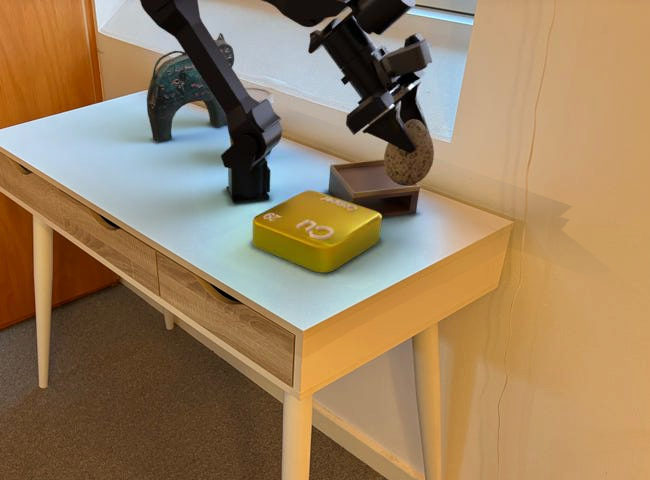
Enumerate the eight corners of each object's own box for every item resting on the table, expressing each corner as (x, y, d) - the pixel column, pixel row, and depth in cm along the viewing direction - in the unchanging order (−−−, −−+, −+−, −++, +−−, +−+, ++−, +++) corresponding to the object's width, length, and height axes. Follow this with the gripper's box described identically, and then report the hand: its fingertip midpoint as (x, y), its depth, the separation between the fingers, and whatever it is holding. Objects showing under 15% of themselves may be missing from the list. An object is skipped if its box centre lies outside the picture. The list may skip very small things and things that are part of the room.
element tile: (384, 239, 111) (388, 210, 108) (325, 277, 103) (327, 247, 100) (307, 212, 120) (308, 184, 117) (246, 244, 112) (246, 216, 109)
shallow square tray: (351, 221, 116) (353, 193, 114) (328, 191, 126) (330, 164, 123) (415, 213, 118) (420, 185, 115) (388, 184, 127) (391, 158, 124)
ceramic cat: (224, 117, 159) (222, 19, 147) (241, 125, 154) (240, 25, 142) (145, 137, 151) (137, 36, 139) (161, 146, 147) (153, 42, 135)
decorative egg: (435, 180, 111) (447, 116, 105) (418, 197, 107) (429, 131, 101) (391, 171, 115) (400, 108, 109) (373, 187, 110) (381, 122, 104)
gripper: (378, 33, 92) (450, 132, 94) (421, 3, 104) (483, 91, 107) (316, 88, 100) (383, 178, 102) (363, 54, 113) (421, 135, 115)
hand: (420, 143), depth 106 cm, fingers closed on decorative egg, 6 cm apart
